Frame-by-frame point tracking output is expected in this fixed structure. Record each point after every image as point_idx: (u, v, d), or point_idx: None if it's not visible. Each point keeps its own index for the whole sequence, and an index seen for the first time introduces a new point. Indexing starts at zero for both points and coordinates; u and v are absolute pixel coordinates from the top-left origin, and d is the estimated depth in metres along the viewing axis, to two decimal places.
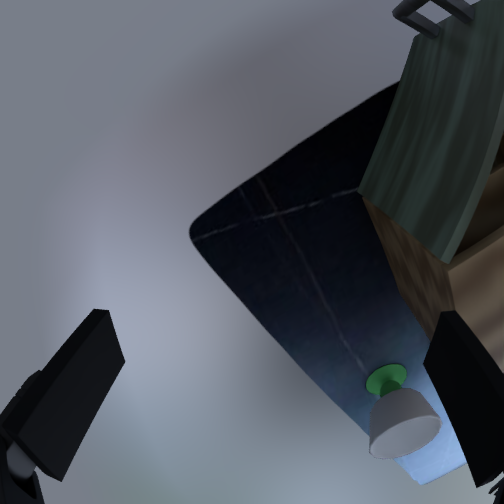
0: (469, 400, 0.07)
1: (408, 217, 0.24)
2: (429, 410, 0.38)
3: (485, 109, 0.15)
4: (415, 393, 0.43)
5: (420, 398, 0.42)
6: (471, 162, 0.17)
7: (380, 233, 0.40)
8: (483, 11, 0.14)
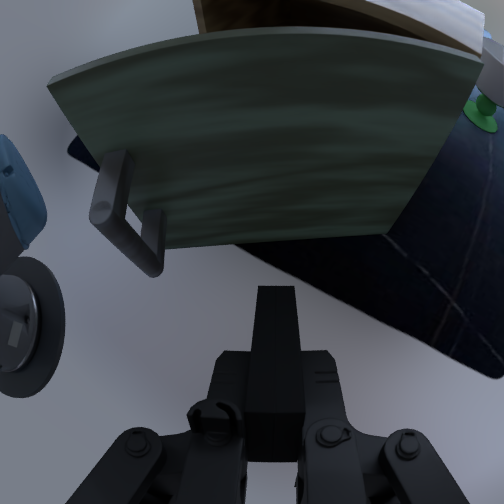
0: None
1: (438, 133, 0.18)
2: (482, 54, 0.29)
3: (299, 61, 0.13)
4: (478, 78, 0.33)
5: None
6: (381, 59, 0.13)
7: None
8: (107, 133, 0.17)
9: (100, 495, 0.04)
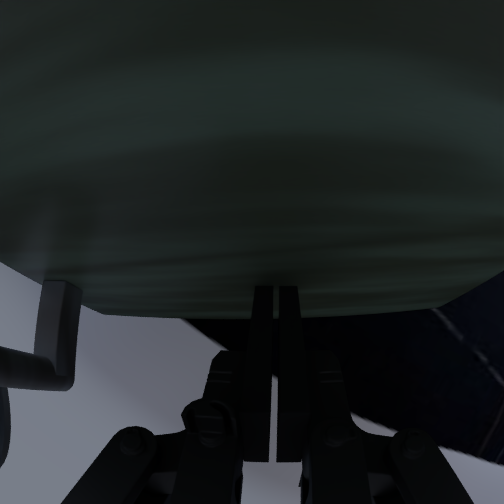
0: None
1: None
2: None
3: None
4: None
5: None
6: None
7: None
8: None
9: (96, 494, 0.04)
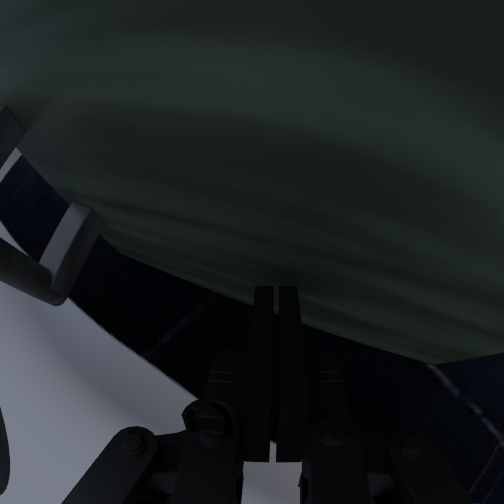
0: (278, 369, 0.10)
1: None
2: None
3: None
4: None
5: None
6: None
7: None
8: None
9: (96, 494, 0.04)
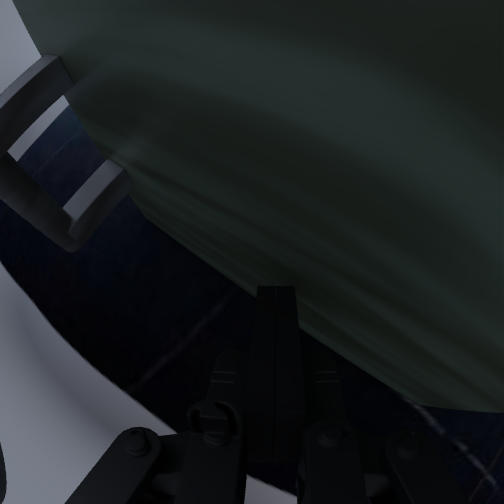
0: (275, 369, 0.10)
1: None
2: None
3: None
4: None
5: None
6: None
7: None
8: (38, 25, 0.07)
9: (100, 495, 0.04)
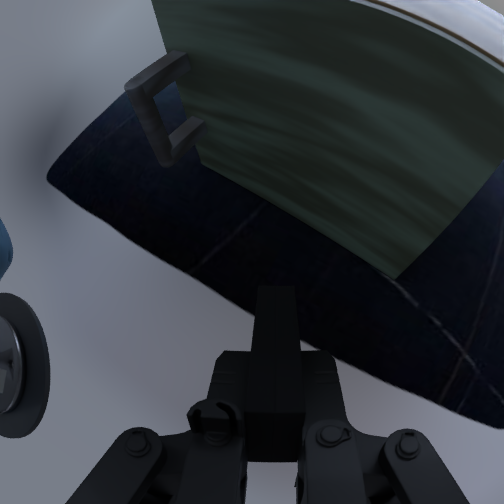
0: None
1: (468, 176, 0.14)
2: None
3: (318, 20, 0.12)
4: None
5: None
6: (401, 42, 0.10)
7: None
8: (177, 34, 0.19)
9: (100, 495, 0.04)
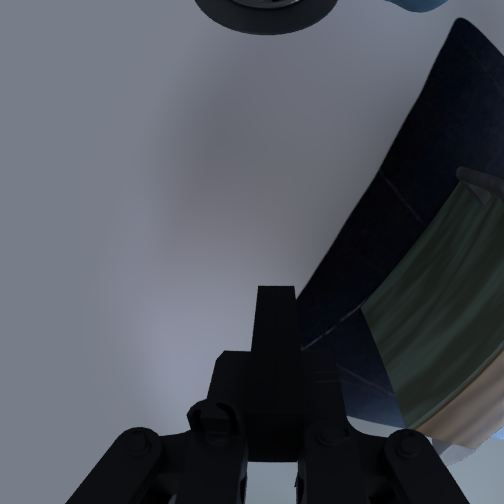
0: None
1: (397, 376, 0.30)
2: None
3: (488, 337, 0.21)
4: None
5: None
6: (457, 373, 0.22)
7: None
8: None
9: (100, 495, 0.04)
